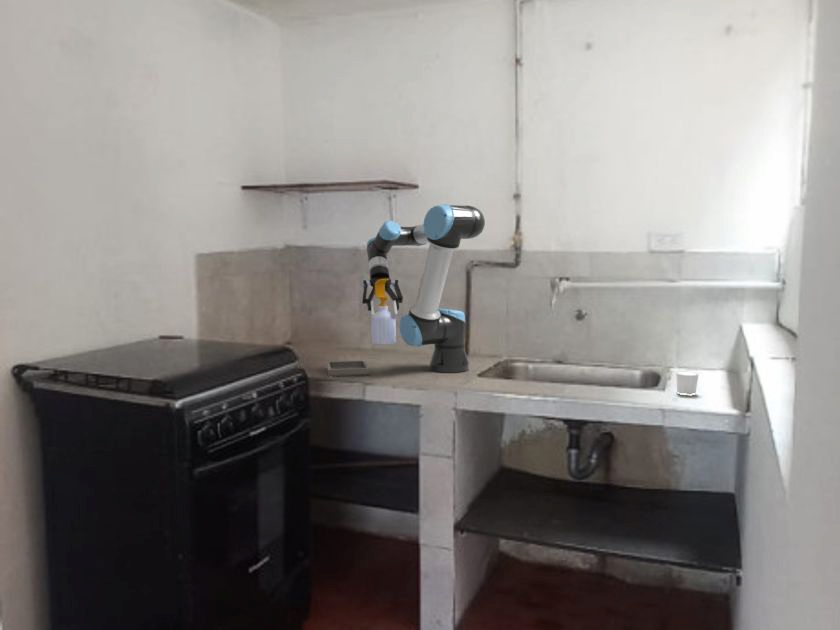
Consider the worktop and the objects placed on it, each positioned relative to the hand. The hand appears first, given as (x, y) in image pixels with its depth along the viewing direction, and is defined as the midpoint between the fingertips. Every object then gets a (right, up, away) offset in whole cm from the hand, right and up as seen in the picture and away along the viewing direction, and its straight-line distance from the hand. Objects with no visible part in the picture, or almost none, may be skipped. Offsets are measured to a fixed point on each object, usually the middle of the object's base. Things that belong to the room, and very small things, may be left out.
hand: (384, 316), depth 265 cm
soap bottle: (-1, -10, +5) cm, 11 cm away
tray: (-14, -21, +3) cm, 25 cm away
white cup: (+101, -26, -31) cm, 108 cm away
